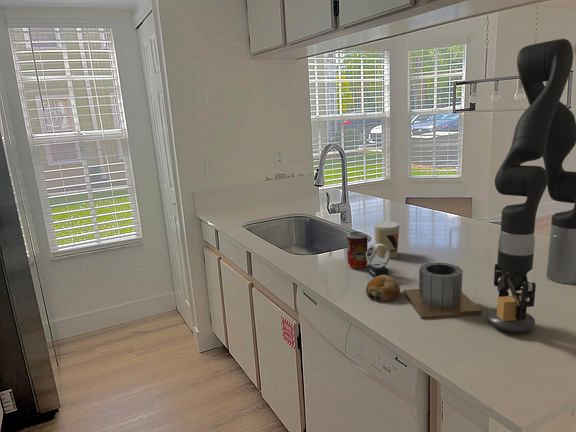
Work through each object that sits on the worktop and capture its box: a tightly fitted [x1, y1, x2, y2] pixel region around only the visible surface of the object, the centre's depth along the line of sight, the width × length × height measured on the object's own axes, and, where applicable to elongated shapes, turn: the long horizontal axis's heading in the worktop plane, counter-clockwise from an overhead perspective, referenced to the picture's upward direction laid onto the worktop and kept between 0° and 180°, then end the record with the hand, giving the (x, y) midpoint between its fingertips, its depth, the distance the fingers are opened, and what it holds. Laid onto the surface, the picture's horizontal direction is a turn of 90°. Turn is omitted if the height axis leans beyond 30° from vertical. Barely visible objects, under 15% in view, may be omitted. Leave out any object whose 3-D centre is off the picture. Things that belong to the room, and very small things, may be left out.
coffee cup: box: [373, 221, 400, 259], centre depth 161 cm, size 9×9×12 cm
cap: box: [487, 295, 536, 334], centre depth 105 cm, size 10×10×8 cm
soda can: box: [346, 231, 368, 270], centre depth 151 cm, size 7×7×12 cm
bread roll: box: [365, 275, 401, 302], centre depth 127 cm, size 10×10×8 cm
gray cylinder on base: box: [402, 262, 482, 320], centre depth 119 cm, size 16×16×10 cm
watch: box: [366, 243, 391, 279], centre depth 141 cm, size 6×8×11 cm
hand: (511, 312), depth 105 cm, fingers open, 7 cm apart
